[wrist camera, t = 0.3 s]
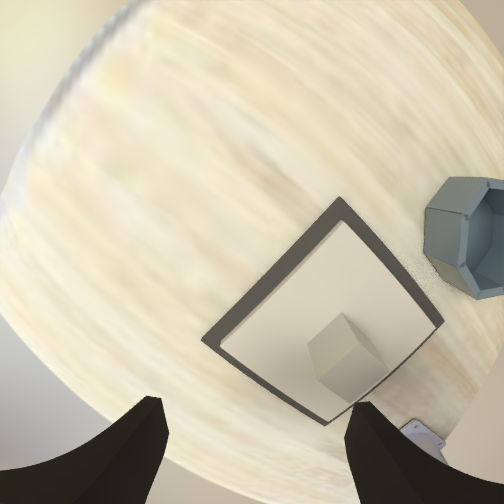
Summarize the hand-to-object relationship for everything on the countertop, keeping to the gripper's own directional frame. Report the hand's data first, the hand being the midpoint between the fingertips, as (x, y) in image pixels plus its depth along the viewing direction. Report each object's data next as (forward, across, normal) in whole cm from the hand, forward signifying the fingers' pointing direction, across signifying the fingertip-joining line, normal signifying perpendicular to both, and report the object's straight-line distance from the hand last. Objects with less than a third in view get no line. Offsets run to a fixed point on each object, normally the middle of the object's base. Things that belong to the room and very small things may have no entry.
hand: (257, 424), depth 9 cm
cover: (+10, -5, +1) cm, 11 cm away
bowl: (+10, -15, -6) cm, 19 cm away
